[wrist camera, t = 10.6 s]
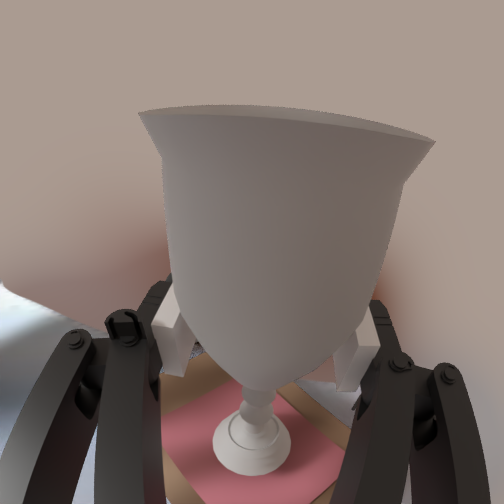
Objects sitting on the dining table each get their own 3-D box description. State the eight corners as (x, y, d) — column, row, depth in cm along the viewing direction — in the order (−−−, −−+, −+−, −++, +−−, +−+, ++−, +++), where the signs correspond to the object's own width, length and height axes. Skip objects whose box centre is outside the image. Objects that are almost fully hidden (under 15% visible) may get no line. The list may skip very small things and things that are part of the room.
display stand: (124, 421, 22) (106, 394, 19) (239, 364, 30) (240, 331, 27) (258, 585, 9) (264, 596, 6) (379, 485, 17) (407, 468, 14)
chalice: (205, 393, 18) (183, 105, 9) (300, 397, 18) (365, 118, 9) (193, 486, 12) (61, 130, 3) (307, 489, 12) (506, 171, 3)
